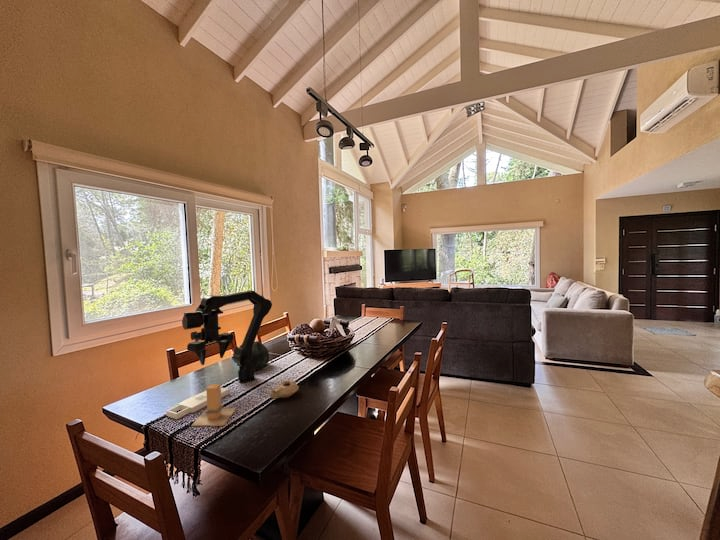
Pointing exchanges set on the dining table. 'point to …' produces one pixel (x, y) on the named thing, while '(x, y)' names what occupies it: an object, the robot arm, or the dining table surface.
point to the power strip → (192, 404)
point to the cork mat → (220, 421)
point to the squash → (260, 355)
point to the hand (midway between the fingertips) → (212, 361)
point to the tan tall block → (214, 401)
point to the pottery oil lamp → (284, 390)
